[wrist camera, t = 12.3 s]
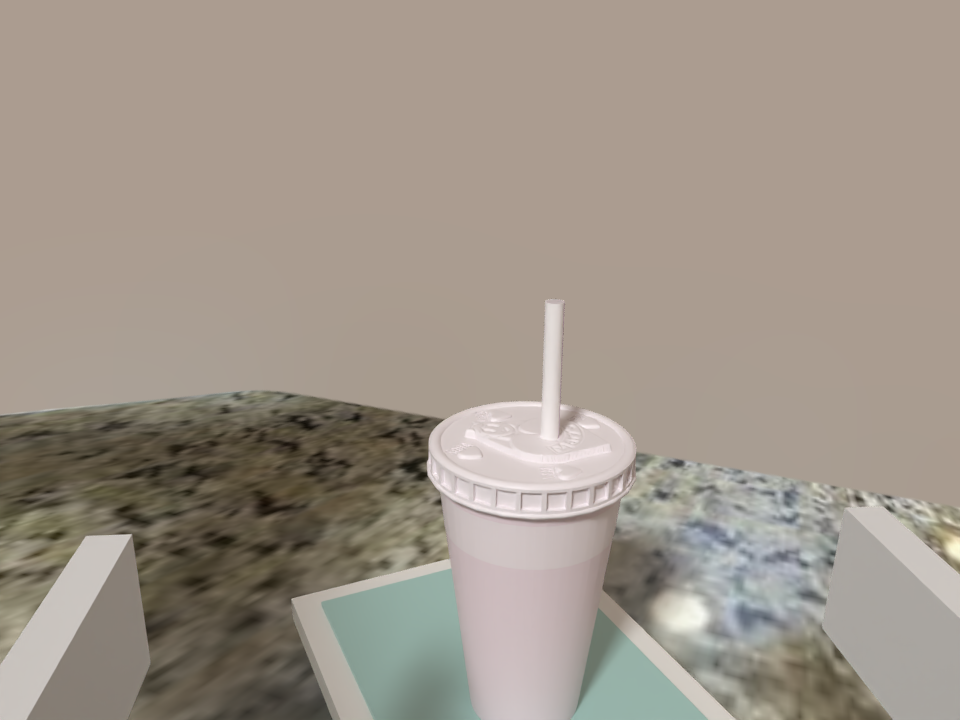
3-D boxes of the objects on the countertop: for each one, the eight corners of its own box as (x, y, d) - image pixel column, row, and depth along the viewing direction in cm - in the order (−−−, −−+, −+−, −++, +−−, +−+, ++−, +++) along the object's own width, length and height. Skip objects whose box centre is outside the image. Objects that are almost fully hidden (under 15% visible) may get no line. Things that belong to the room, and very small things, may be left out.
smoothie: (602, 793, 24) (635, 343, 19) (401, 743, 26) (387, 319, 21) (629, 654, 30) (659, 283, 25) (463, 621, 31) (463, 268, 27)
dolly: (296, 666, 34) (290, 594, 33) (543, 595, 39) (546, 530, 38) (441, 1059, 20) (440, 960, 19) (794, 875, 25) (810, 787, 24)
